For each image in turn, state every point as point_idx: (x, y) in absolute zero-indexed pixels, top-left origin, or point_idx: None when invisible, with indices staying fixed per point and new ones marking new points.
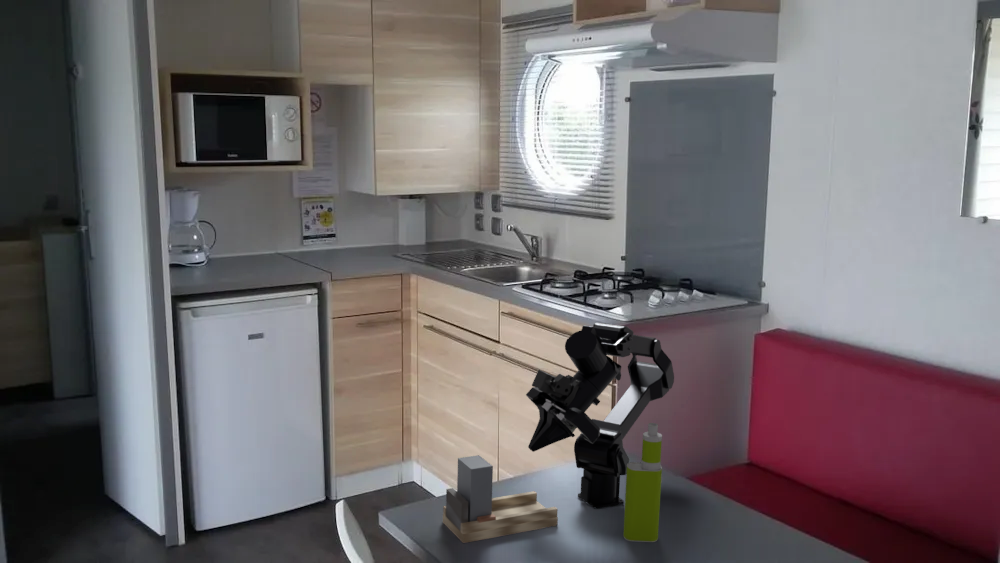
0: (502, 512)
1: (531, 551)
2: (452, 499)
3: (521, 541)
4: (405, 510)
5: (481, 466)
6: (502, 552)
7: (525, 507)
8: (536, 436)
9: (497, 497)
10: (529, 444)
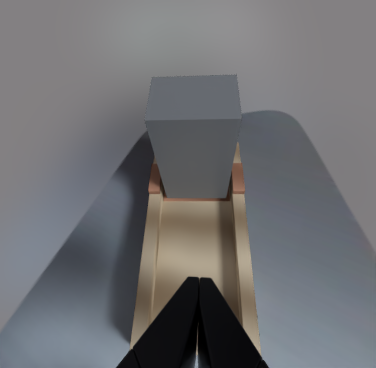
0: (208, 241)
1: (80, 236)
2: None
3: (118, 238)
4: (293, 131)
5: (155, 98)
6: (104, 195)
7: None
8: (191, 322)
9: (248, 243)
10: (209, 282)
